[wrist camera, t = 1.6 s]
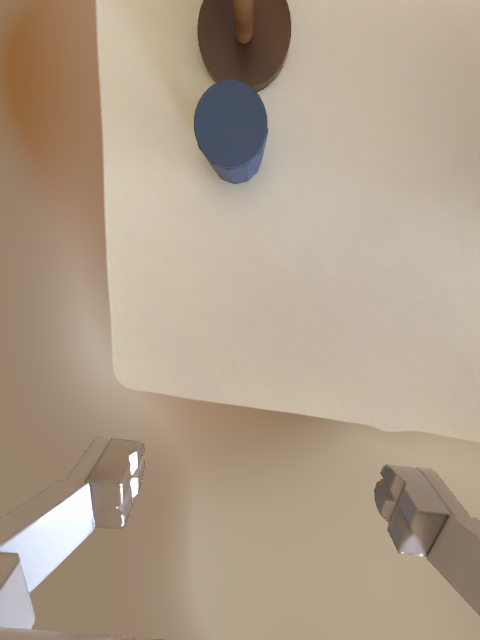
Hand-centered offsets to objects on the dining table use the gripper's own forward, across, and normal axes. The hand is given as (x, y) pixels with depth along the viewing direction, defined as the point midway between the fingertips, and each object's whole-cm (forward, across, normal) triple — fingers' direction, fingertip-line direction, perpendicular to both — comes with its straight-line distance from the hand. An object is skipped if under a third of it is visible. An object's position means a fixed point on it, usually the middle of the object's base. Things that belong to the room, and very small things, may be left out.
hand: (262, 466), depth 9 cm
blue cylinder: (+28, +3, -15) cm, 32 cm away
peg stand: (+28, +3, -25) cm, 38 cm away
